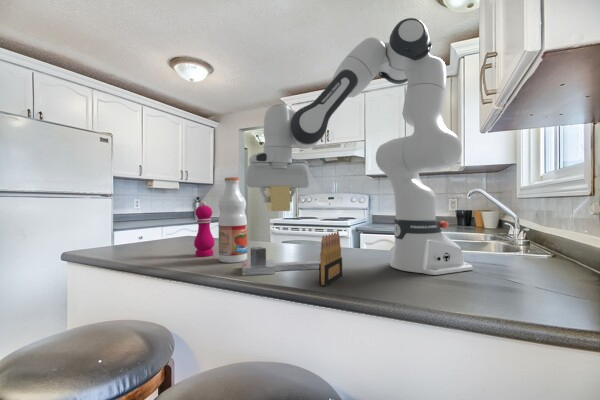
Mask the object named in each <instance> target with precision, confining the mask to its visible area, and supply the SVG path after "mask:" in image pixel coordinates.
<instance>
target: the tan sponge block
mask: <svg viewBox="0 0 600 400" xmlns="http://www.w3.org/2000/svg"><path fill="white" fill-rule="evenodd" d="M265 192H266V193H265V194H266V196H267V197H269V202H267V203H266V211H268V212H291V202H290V193H291V191H290V187H285V186H270V187H268V188H266V191H265Z"/></svg>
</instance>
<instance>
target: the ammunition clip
mask: <svg viewBox="0 0 600 400" xmlns="http://www.w3.org/2000/svg"><path fill="white" fill-rule="evenodd" d="M340 236H341V235H340V233H339V231H336V232H334V233H332V232H331V234H330V233H329V234H326V235H322V237H321V241H320V245H321V246H320V255H319V256H320V259H319V261H320V264H319V269H318V286H319V285H320V287H328V286H330V285H331V284H332V283H334V282H335V281H337V280H339V279H340V278H342V277H343V257H342V247H341V246H342V245H341V238H340Z"/></svg>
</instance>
